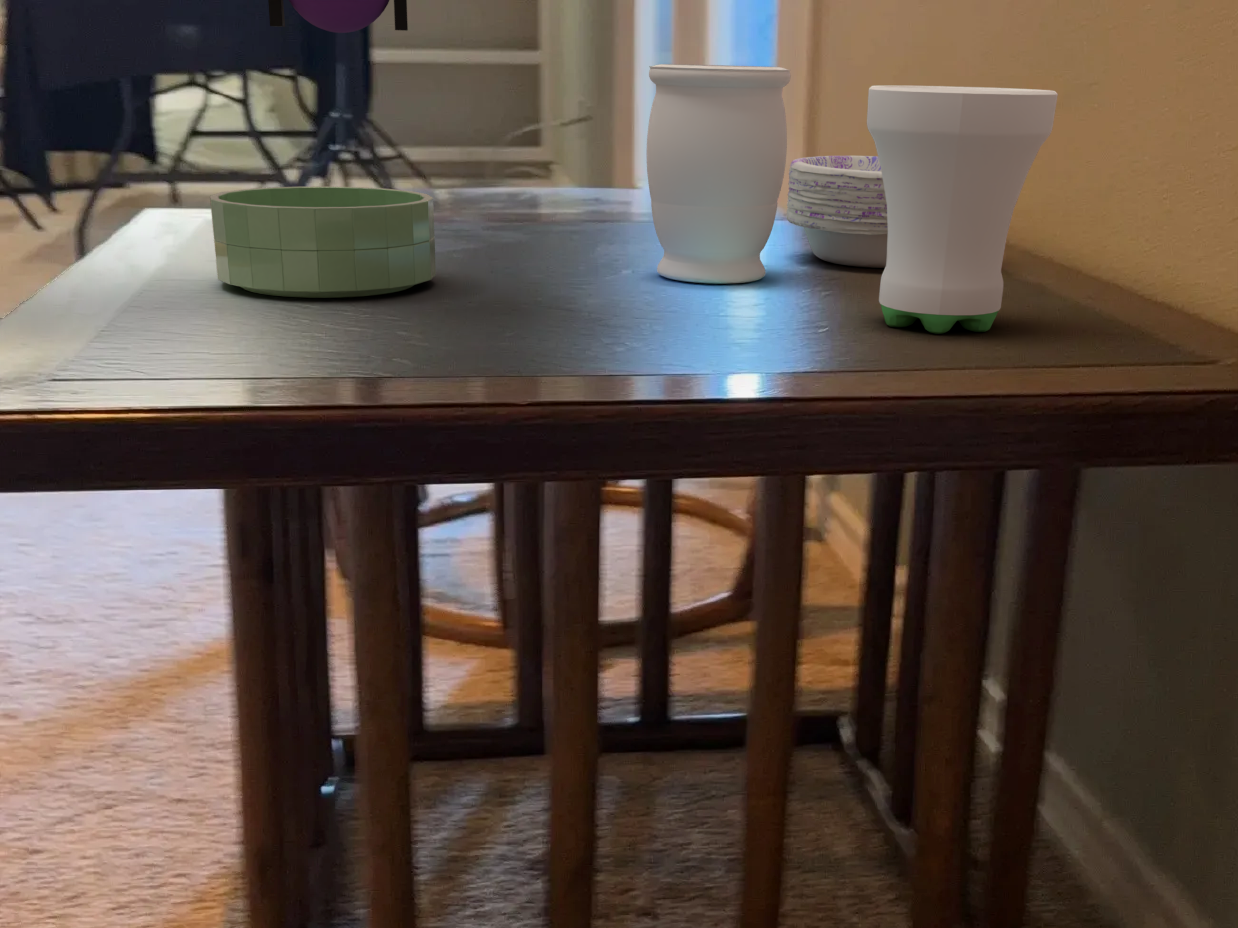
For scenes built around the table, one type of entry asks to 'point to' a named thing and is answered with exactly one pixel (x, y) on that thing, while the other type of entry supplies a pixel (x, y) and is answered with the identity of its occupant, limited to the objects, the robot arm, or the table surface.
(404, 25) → the robot arm
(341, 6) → the ball
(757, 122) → the jar
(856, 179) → the paper bowls
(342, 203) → the bowl
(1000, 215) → the cup
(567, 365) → the table surface
